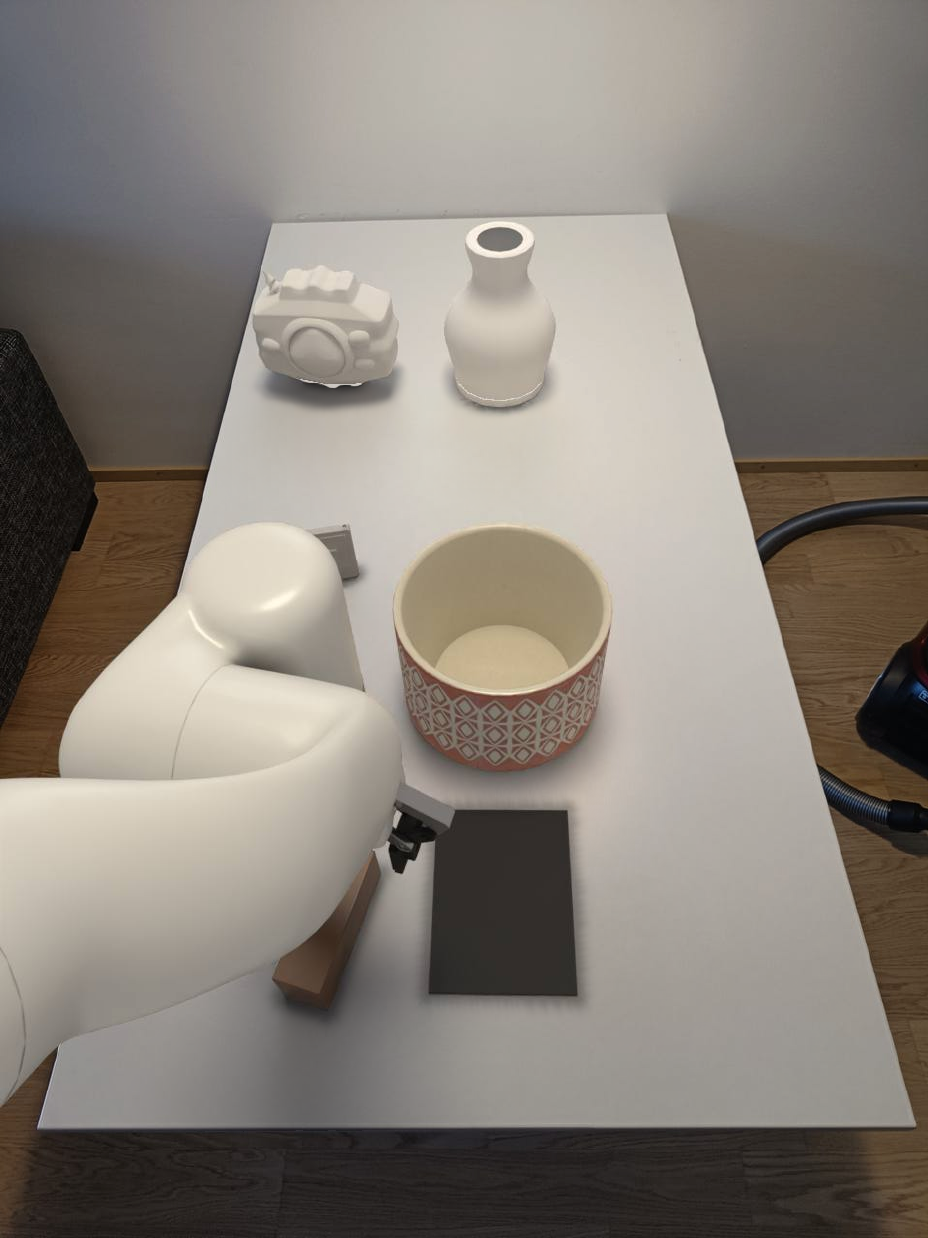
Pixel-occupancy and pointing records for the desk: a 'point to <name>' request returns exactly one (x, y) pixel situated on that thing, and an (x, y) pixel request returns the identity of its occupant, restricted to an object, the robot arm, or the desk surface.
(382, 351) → the camera
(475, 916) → the black mat
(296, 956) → the bar
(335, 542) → the cassette
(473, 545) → the planter
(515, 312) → the vase
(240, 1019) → the desk surface
